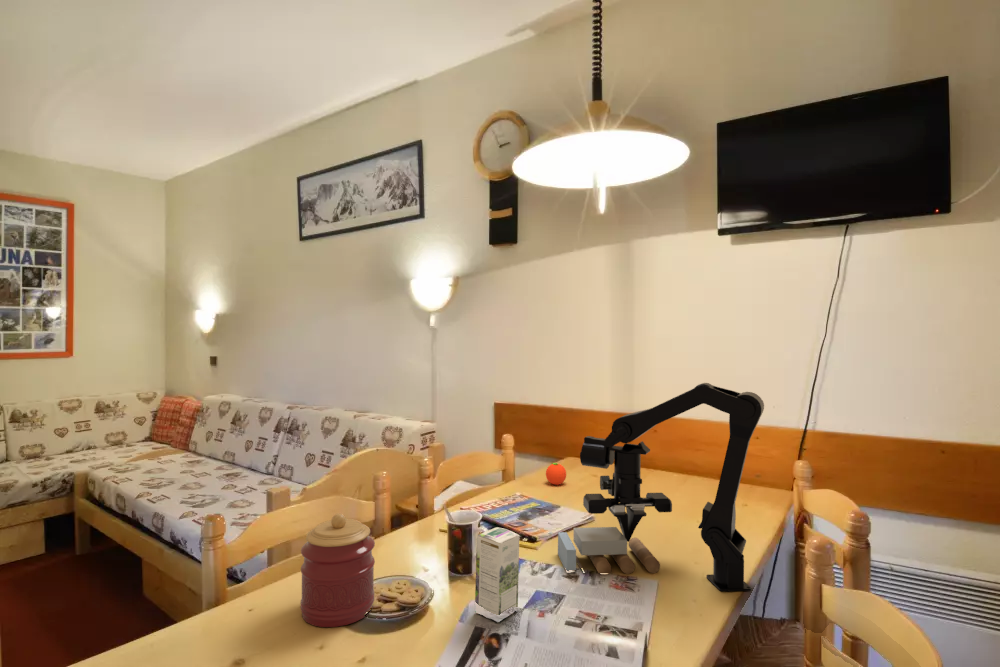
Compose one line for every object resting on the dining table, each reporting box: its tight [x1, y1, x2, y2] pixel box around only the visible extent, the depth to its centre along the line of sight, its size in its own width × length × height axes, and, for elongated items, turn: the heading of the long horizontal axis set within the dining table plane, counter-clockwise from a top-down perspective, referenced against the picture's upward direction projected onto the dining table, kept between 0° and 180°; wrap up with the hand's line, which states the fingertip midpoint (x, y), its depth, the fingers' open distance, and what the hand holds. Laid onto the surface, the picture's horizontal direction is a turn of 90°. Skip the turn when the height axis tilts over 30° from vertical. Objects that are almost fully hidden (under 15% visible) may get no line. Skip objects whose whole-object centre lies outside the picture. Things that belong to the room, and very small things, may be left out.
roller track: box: [576, 537, 661, 575], centre depth 121 cm, size 12×17×3 cm
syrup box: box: [474, 526, 520, 615], centre depth 99 cm, size 6×6×14 cm
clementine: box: [545, 462, 567, 486], centre depth 182 cm, size 8×7×7 cm
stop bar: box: [557, 531, 577, 571], centre depth 120 cm, size 10×2×5 cm, turn 5°
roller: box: [587, 555, 612, 574], centre depth 120 cm, size 12×3×3 cm
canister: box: [300, 513, 376, 628], centre depth 99 cm, size 13×13×18 cm
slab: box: [572, 526, 628, 556], centre depth 120 cm, size 8×10×3 cm
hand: (626, 541), depth 121 cm, fingers closed
